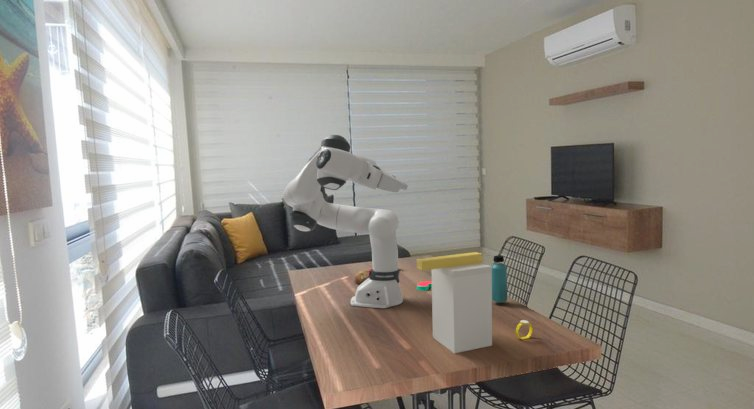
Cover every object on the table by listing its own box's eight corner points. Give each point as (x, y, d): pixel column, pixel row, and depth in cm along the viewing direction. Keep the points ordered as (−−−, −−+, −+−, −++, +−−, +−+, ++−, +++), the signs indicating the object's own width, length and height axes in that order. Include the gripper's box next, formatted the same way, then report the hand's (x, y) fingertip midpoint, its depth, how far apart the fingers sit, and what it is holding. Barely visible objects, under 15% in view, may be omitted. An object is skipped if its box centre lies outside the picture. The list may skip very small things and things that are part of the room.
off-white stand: (454, 353, 139) (453, 271, 136) (432, 337, 152) (431, 262, 149) (492, 345, 144) (491, 266, 141) (468, 330, 157) (467, 257, 154)
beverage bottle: (508, 306, 181) (508, 257, 179) (491, 305, 182) (490, 257, 180) (506, 301, 187) (506, 254, 185) (490, 300, 189) (490, 254, 187)
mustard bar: (421, 270, 138) (421, 261, 138) (416, 268, 142) (416, 259, 141) (481, 262, 146) (481, 253, 146) (475, 260, 150) (475, 251, 149)
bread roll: (358, 287, 229) (350, 273, 228) (375, 277, 229) (368, 264, 228) (359, 292, 219) (351, 278, 218) (377, 282, 219) (370, 268, 218)
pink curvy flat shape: (445, 280, 224) (445, 275, 224) (461, 288, 209) (461, 283, 209) (408, 285, 218) (408, 280, 218) (423, 294, 203) (422, 289, 202)
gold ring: (528, 336, 151) (529, 319, 151) (533, 339, 148) (535, 321, 148) (513, 338, 149) (514, 320, 148) (519, 341, 146) (520, 323, 146)
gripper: (351, 172, 156) (385, 182, 163) (373, 190, 139) (409, 200, 145) (358, 155, 155) (391, 166, 162) (380, 171, 138) (417, 183, 144)
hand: (400, 182), depth 153 cm, fingers open, 8 cm apart
